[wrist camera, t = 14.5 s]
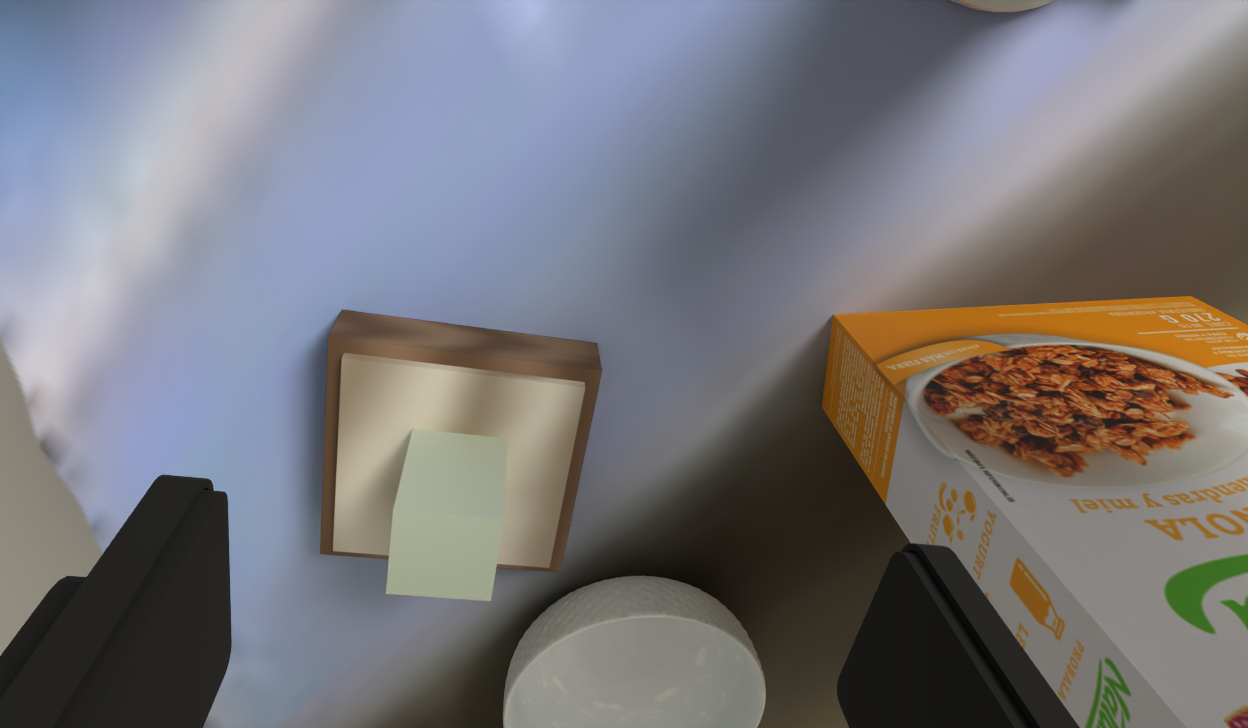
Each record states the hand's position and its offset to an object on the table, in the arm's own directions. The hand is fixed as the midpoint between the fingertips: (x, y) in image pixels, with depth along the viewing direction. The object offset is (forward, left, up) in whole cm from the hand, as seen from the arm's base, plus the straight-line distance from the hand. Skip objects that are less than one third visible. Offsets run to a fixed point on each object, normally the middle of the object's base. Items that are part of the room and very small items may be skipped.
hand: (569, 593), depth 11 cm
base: (+2, +18, -32) cm, 37 cm away
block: (+2, +18, -28) cm, 34 cm away
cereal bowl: (-11, +33, -33) cm, 48 cm away
